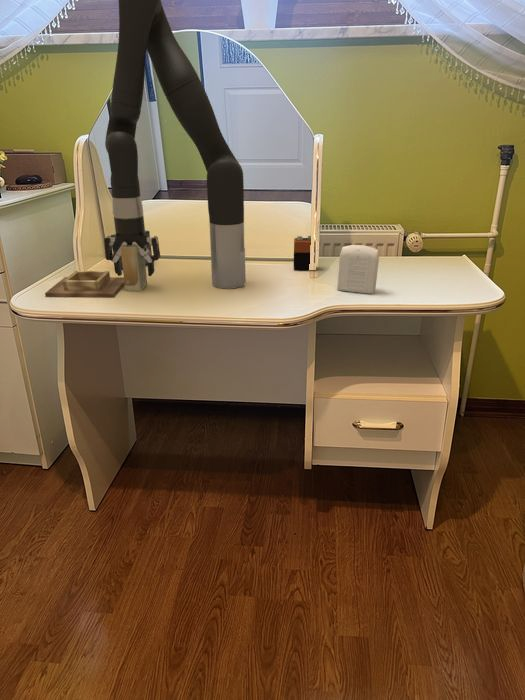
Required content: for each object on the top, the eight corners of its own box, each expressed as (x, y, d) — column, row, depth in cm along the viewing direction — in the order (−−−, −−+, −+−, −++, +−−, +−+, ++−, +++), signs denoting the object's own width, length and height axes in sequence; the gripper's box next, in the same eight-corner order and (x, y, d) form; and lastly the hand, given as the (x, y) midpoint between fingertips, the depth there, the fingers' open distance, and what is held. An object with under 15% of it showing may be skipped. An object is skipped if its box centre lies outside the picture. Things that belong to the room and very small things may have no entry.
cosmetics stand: (127, 280, 148) (126, 268, 146) (113, 297, 135) (112, 284, 133) (65, 280, 148) (63, 268, 146) (45, 296, 135) (43, 284, 134)
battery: (316, 271, 156) (317, 238, 152) (293, 271, 156) (294, 238, 152) (315, 267, 160) (316, 234, 156) (293, 266, 160) (294, 234, 156)
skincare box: (133, 283, 145) (128, 240, 140) (148, 284, 145) (143, 241, 139) (124, 291, 139) (119, 246, 134) (140, 291, 139) (135, 246, 134)
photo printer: (376, 290, 140) (380, 244, 135) (374, 295, 136) (379, 249, 131) (338, 286, 143) (341, 242, 138) (335, 291, 139) (338, 246, 134)
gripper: (158, 211, 137) (164, 271, 144) (105, 211, 137) (113, 270, 144) (152, 217, 130) (158, 279, 137) (96, 217, 130) (105, 279, 137)
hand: (135, 275), depth 140 cm, fingers open, 8 cm apart
